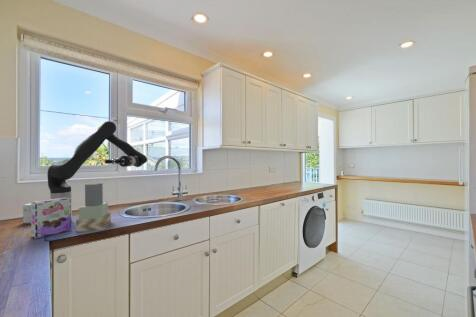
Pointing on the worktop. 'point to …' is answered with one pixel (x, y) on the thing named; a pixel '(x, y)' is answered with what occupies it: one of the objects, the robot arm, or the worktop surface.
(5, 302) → the worktop surface
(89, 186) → the grey block
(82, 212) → the sage block
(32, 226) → the candy box
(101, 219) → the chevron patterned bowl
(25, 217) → the small box
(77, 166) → the robot arm
